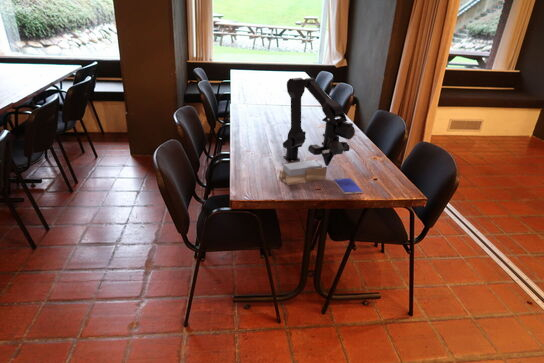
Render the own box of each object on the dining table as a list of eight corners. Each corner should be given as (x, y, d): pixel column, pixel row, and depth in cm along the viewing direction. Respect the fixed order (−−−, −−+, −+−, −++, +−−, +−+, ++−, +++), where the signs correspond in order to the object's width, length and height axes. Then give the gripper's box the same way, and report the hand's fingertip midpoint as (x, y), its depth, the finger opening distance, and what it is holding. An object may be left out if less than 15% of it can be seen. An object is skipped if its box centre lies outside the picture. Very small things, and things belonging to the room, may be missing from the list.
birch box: (278, 176, 164) (279, 164, 161) (315, 171, 171) (316, 160, 169) (287, 185, 157) (288, 172, 154) (325, 179, 164) (327, 167, 162)
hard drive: (334, 178, 163) (344, 191, 152) (351, 178, 165) (362, 190, 154) (333, 182, 164) (344, 195, 153) (350, 181, 165) (362, 194, 155)
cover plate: (283, 170, 162) (283, 164, 160) (314, 166, 168) (314, 160, 167) (289, 176, 157) (290, 169, 155) (321, 171, 163) (322, 165, 162)
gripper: (322, 140, 150) (318, 175, 157) (359, 137, 158) (353, 170, 164) (309, 132, 159) (305, 165, 166) (344, 129, 167) (339, 160, 173)
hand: (326, 165), depth 167 cm, fingers closed
